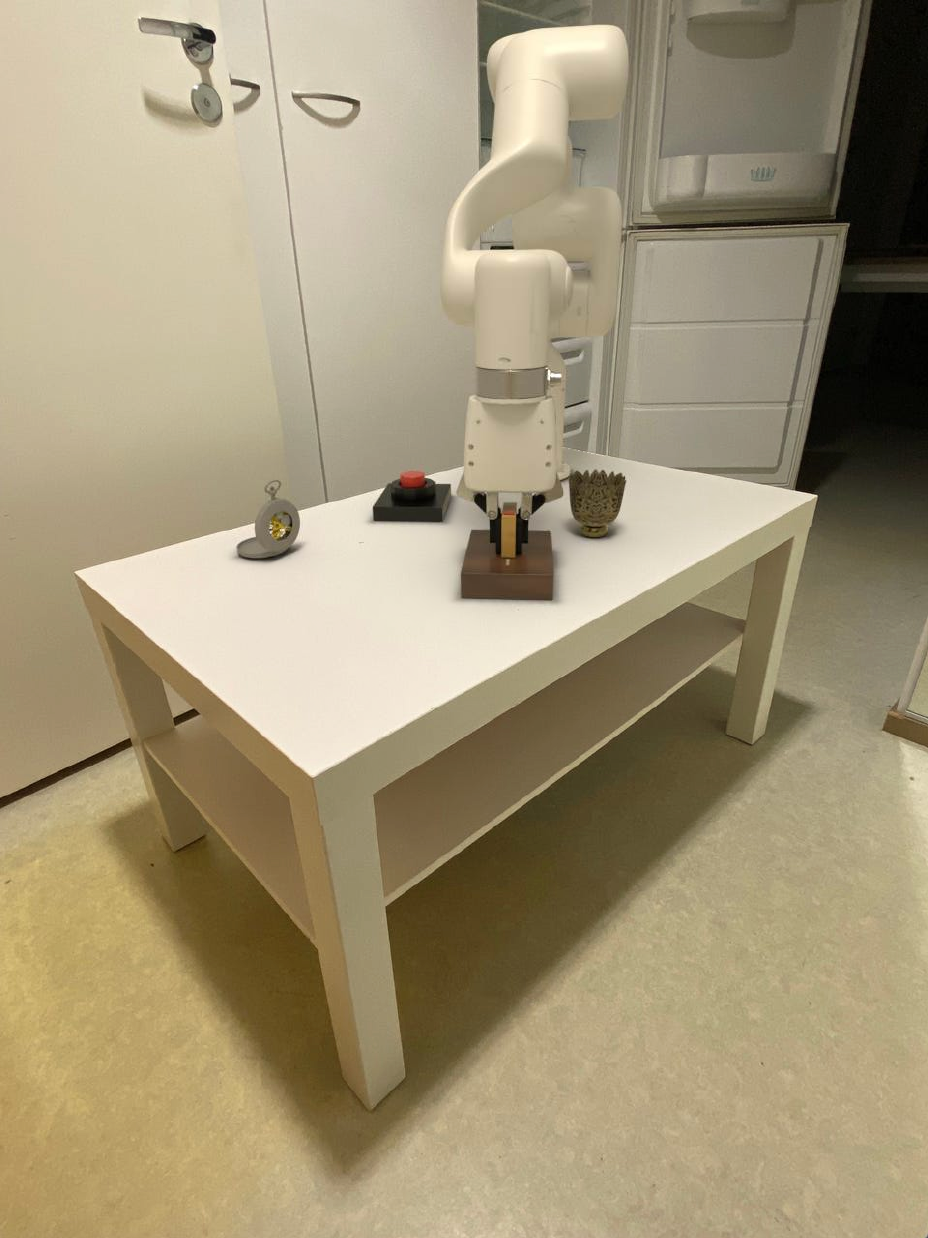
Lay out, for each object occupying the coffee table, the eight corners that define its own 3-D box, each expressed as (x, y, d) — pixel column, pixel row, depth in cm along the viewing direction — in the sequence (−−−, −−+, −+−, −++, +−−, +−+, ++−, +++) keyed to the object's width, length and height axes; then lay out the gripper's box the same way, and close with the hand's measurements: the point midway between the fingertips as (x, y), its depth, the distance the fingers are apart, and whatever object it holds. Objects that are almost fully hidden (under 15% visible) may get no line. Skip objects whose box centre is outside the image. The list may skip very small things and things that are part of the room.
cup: (621, 545, 91) (626, 485, 87) (563, 542, 92) (566, 482, 89) (621, 526, 97) (626, 469, 94) (567, 523, 99) (570, 467, 95)
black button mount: (388, 496, 112) (387, 471, 110) (451, 497, 111) (450, 472, 109) (373, 521, 101) (371, 494, 99) (442, 522, 100) (441, 495, 98)
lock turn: (502, 542, 84) (503, 499, 82) (516, 542, 84) (517, 500, 82) (501, 557, 80) (501, 513, 77) (515, 558, 80) (516, 513, 77)
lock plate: (471, 551, 90) (471, 528, 88) (549, 552, 89) (550, 529, 88) (461, 598, 78) (460, 571, 76) (552, 600, 77) (553, 573, 75)
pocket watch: (246, 542, 94) (234, 468, 90) (308, 542, 94) (299, 468, 89) (226, 566, 87) (211, 487, 82) (293, 565, 87) (282, 486, 82)
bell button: (403, 482, 106) (402, 470, 105) (426, 482, 106) (426, 470, 105) (399, 488, 103) (398, 477, 102) (423, 489, 102) (422, 477, 102)
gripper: (584, 378, 76) (575, 538, 84) (440, 379, 77) (445, 536, 86) (589, 389, 69) (578, 562, 78) (431, 390, 71) (438, 559, 79)
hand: (508, 547), depth 82 cm, fingers closed on lock turn
